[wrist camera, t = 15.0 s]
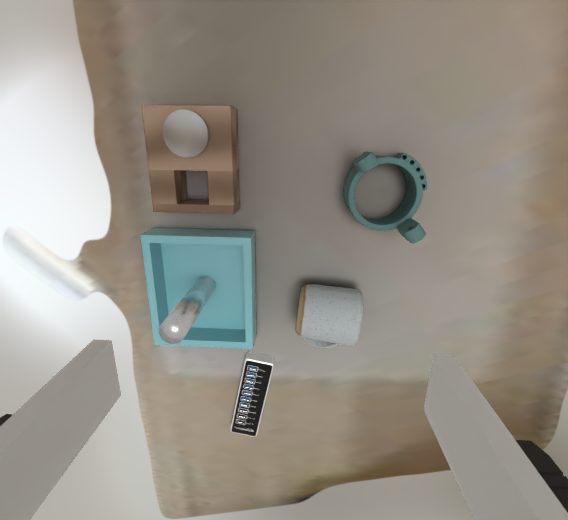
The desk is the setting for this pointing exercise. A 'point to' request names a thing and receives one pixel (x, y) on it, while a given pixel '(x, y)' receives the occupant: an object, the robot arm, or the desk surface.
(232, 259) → the tray
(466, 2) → the desk surface
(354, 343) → the ceramic mug
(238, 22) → the desk surface
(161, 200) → the brown wooden block
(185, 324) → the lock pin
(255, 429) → the multiport hub
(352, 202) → the bracket
